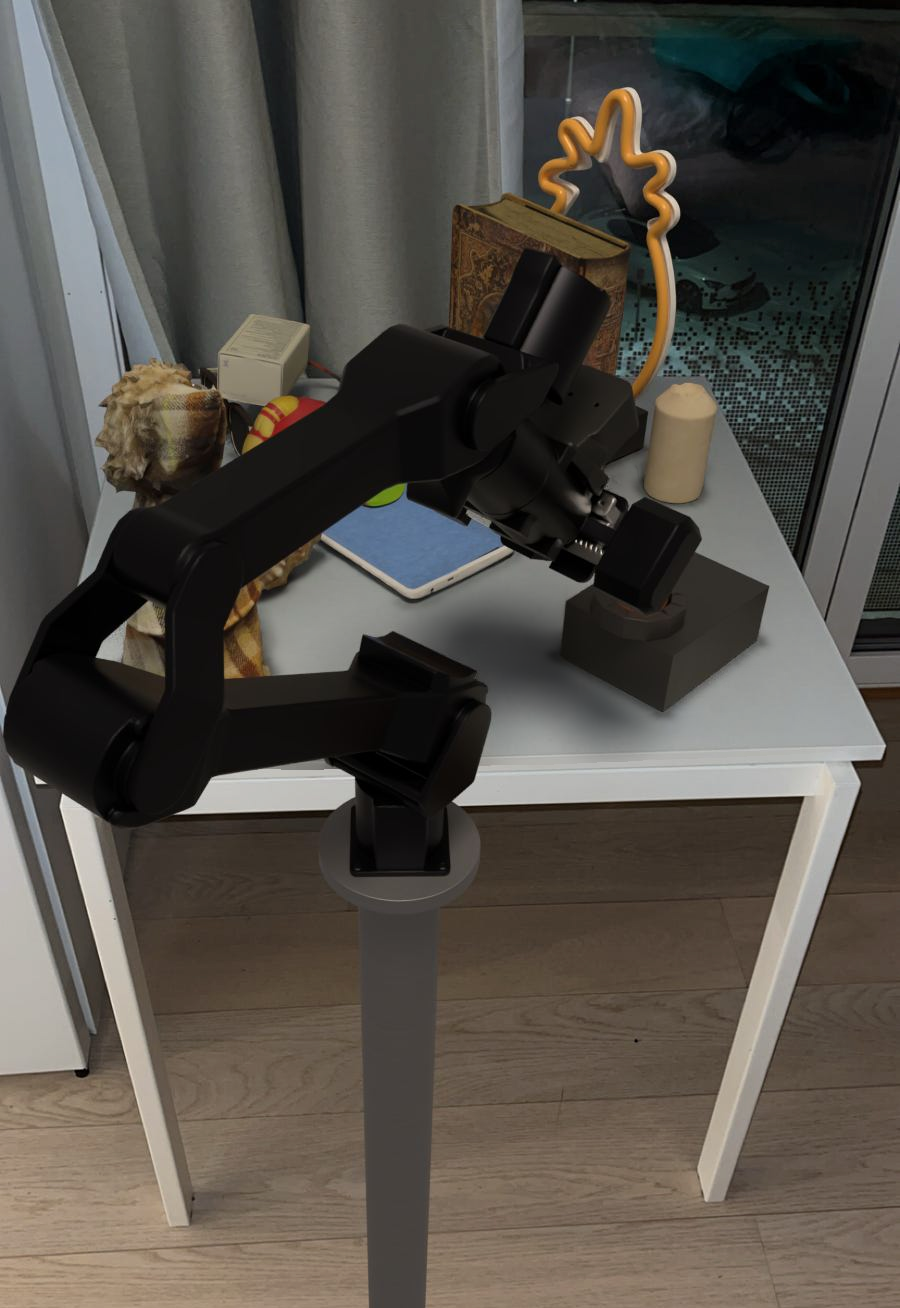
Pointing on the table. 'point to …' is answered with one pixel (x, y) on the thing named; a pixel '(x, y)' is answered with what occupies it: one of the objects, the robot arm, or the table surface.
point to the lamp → (597, 143)
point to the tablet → (414, 546)
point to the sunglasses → (239, 407)
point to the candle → (679, 443)
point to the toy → (279, 418)
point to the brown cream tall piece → (172, 491)
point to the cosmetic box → (263, 359)
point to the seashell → (286, 566)
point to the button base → (666, 633)
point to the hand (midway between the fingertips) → (601, 558)
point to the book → (494, 247)
